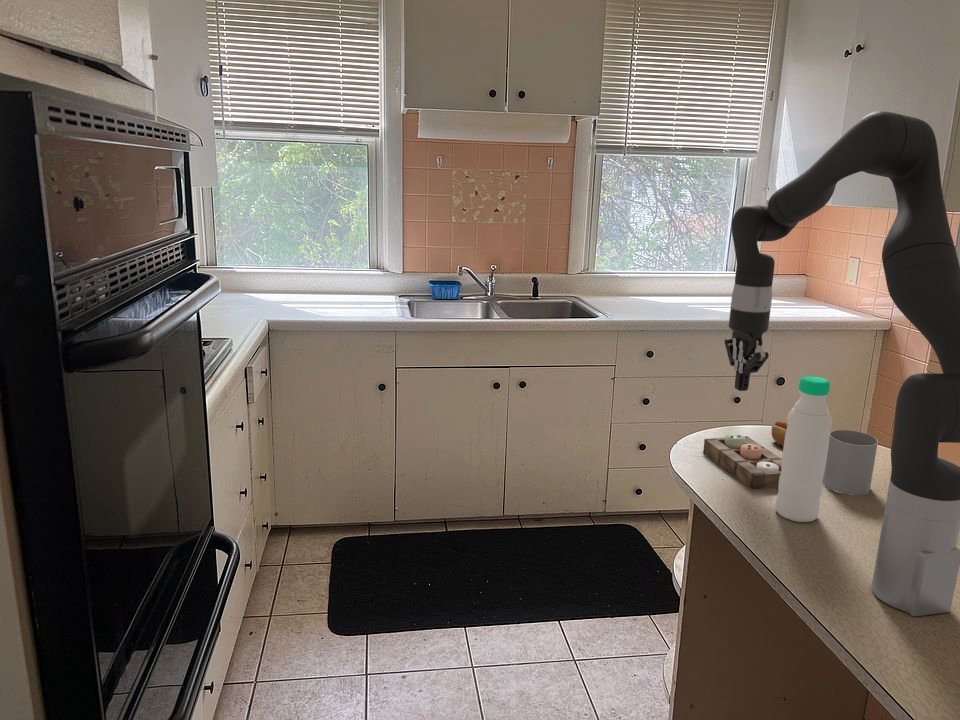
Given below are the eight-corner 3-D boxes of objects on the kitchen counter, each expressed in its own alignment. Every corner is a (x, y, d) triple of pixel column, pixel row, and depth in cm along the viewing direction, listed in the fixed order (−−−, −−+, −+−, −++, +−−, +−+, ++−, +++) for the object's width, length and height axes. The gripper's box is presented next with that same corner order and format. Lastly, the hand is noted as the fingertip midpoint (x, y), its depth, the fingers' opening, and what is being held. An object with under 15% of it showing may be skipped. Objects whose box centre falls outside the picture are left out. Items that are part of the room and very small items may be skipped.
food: (764, 441, 166) (767, 420, 165) (783, 438, 168) (785, 417, 167) (813, 465, 154) (817, 442, 152) (833, 461, 156) (836, 438, 155)
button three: (764, 464, 149) (766, 449, 148) (746, 465, 148) (748, 451, 148) (753, 456, 153) (754, 442, 152) (735, 458, 152) (737, 443, 151)
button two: (747, 453, 155) (749, 439, 154) (730, 454, 154) (731, 440, 153) (737, 446, 159) (739, 432, 158) (720, 447, 158) (721, 433, 157)
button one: (781, 483, 144) (783, 468, 143) (762, 484, 143) (764, 469, 142) (769, 474, 148) (771, 460, 147) (751, 476, 147) (752, 461, 146)
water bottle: (822, 526, 128) (843, 386, 121) (778, 521, 129) (797, 383, 122) (812, 507, 134) (832, 374, 128) (771, 503, 136) (789, 371, 129)
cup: (880, 491, 141) (888, 442, 139) (847, 498, 138) (855, 448, 136) (844, 474, 149) (851, 427, 146) (812, 480, 146) (819, 432, 143)
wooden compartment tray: (799, 486, 143) (801, 471, 142) (752, 489, 141) (754, 475, 140) (745, 449, 161) (747, 436, 160) (703, 452, 159) (704, 439, 158)
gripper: (787, 313, 143) (776, 398, 147) (749, 300, 155) (740, 379, 160) (752, 314, 141) (741, 400, 146) (716, 300, 154) (708, 381, 158)
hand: (741, 389), depth 153 cm, fingers closed
